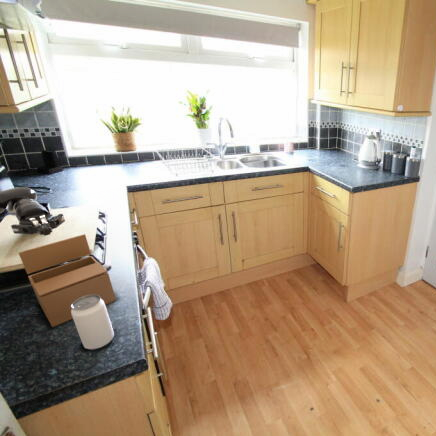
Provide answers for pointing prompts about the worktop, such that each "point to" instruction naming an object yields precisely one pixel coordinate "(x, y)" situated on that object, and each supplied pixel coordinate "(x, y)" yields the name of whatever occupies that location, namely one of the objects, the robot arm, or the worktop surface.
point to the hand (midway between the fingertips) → (46, 232)
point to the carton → (70, 287)
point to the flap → (54, 253)
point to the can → (92, 321)
